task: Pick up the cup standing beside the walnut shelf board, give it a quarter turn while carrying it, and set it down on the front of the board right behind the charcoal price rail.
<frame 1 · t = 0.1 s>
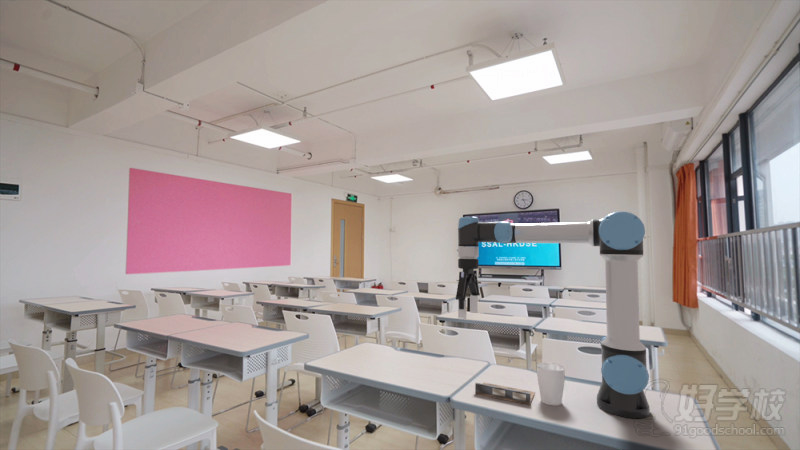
hand: (468, 315, 136), 28 cm above the table, fingers open, 13 cm apart
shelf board: (505, 393, 133), on the table
cup: (551, 402, 127), on the table
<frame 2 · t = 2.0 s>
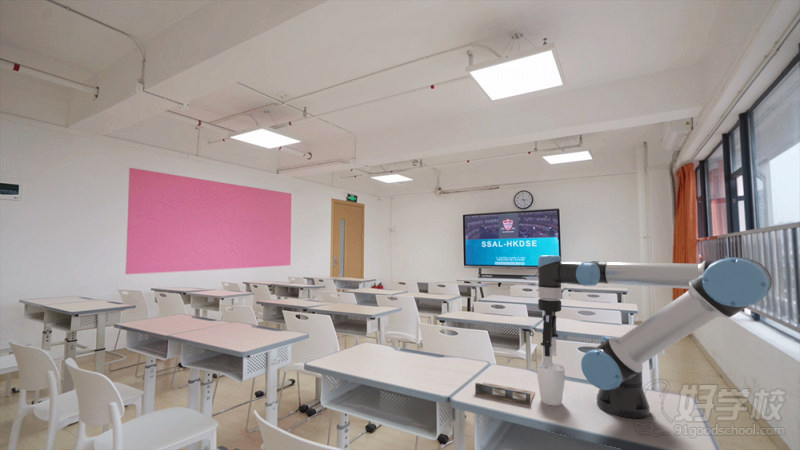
hand: (550, 360, 128), 14 cm above the table, fingers open, 13 cm apart
nothing on the table moved.
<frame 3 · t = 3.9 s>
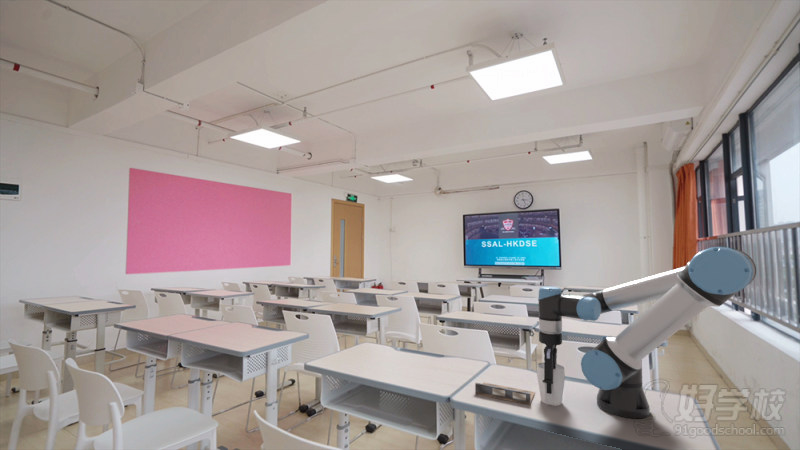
hand: (551, 397, 127), 1 cm above the table, fingers closed on cup, 9 cm apart
cup: (551, 402, 127), on the table, touching gripper
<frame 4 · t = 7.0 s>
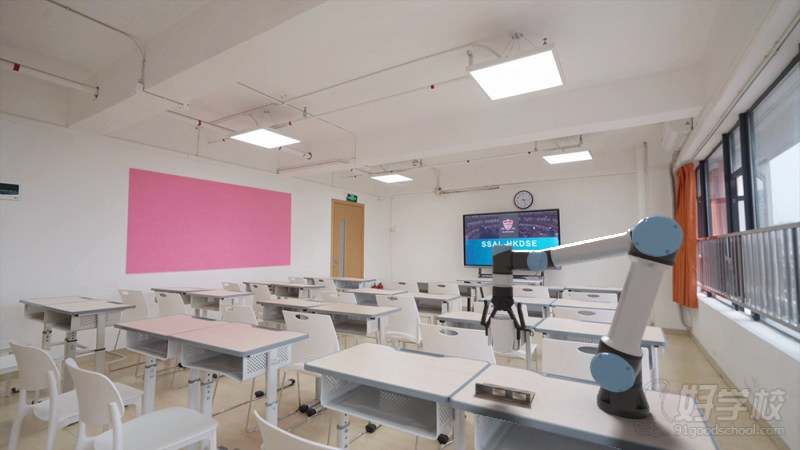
hand: (502, 346, 136), 17 cm above the table, fingers closed on cup, 9 cm apart
cup: (502, 351, 135), point 15 cm above the table, touching gripper
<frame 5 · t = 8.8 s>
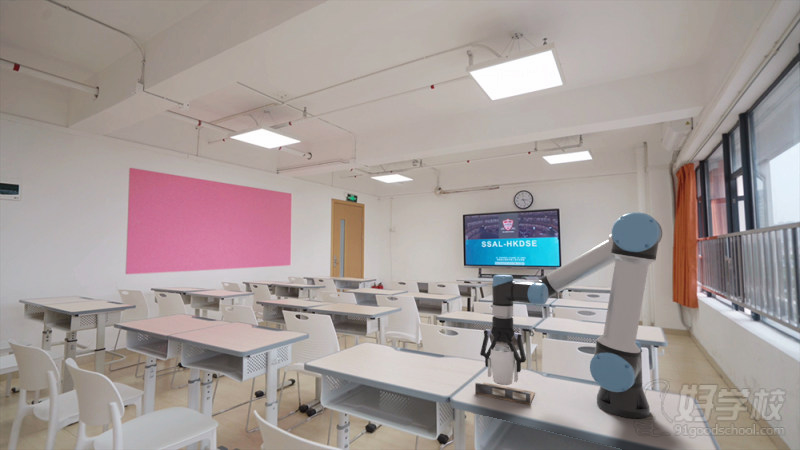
hand: (502, 378, 135), 5 cm above the table, fingers closed on cup, 9 cm apart
cup: (502, 382, 135), point 3 cm above the table, touching gripper
when the fingers open (4 cm above the table, at t = 10.1 s): cup drops 2 cm, resting on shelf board.
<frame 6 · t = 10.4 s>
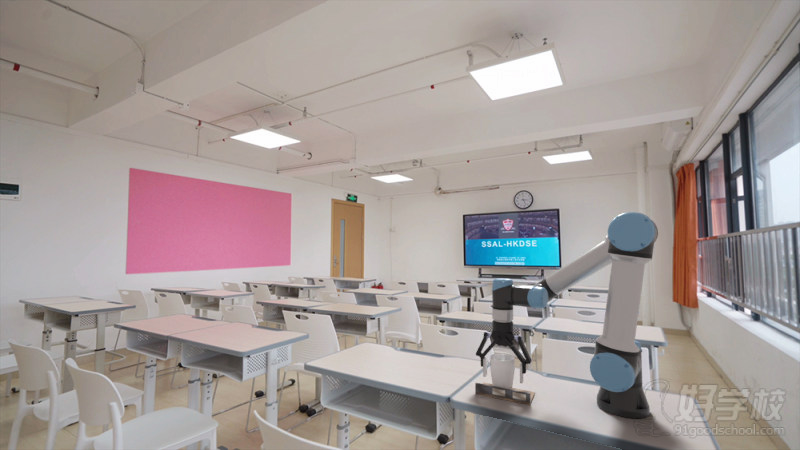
hand: (503, 378, 135), 5 cm above the table, fingers open, 13 cm apart
cup: (502, 390, 135), resting on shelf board
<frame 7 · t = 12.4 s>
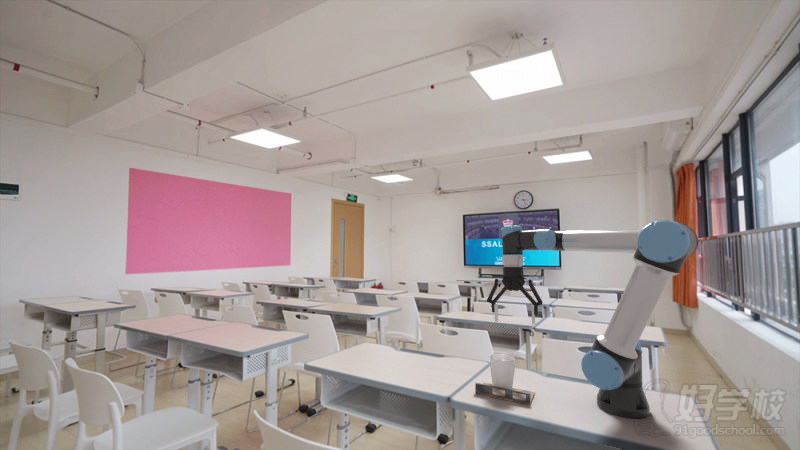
hand: (514, 322, 138), 25 cm above the table, fingers open, 13 cm apart
nothing on the table moved.
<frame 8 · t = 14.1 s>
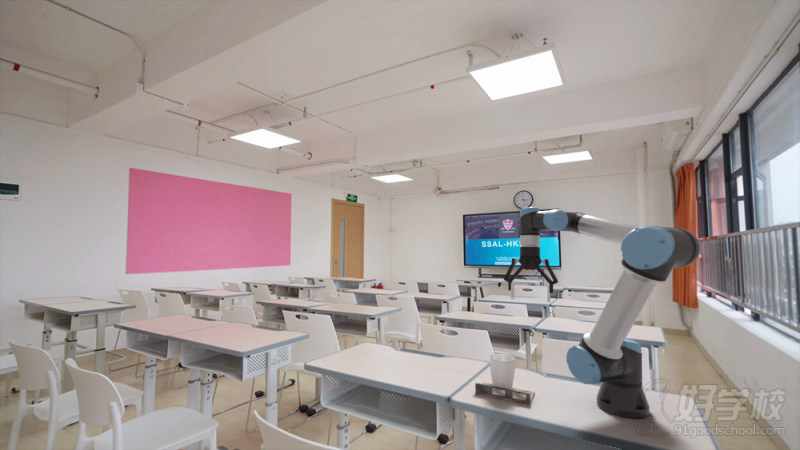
hand: (530, 300, 144), 33 cm above the table, fingers open, 13 cm apart
nothing on the table moved.
at the end: cup inside the target area (0.2 cm from its centre), resting on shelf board; cup tilted 0°; the gripper is holding nothing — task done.
